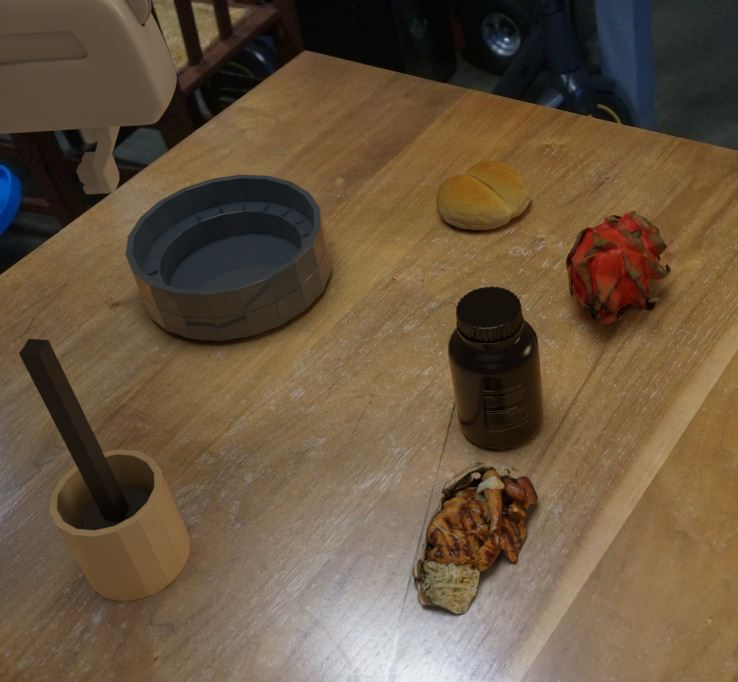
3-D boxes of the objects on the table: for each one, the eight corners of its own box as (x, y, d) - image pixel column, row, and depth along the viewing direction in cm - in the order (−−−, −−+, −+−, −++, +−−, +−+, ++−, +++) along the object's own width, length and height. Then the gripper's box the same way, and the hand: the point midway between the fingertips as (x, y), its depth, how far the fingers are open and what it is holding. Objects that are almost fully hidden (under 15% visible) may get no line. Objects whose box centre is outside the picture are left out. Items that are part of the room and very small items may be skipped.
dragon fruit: (647, 268, 102) (605, 366, 96) (573, 216, 101) (526, 312, 94) (701, 226, 95) (660, 329, 89) (623, 170, 94) (575, 270, 87)
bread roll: (422, 209, 109) (417, 175, 106) (494, 172, 112) (491, 139, 110) (473, 247, 104) (469, 213, 101) (545, 207, 108) (544, 173, 105)
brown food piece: (398, 602, 76) (391, 571, 73) (456, 471, 84) (451, 440, 81) (494, 625, 74) (490, 595, 71) (544, 489, 82) (542, 457, 80)
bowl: (116, 339, 97) (94, 288, 93) (185, 221, 110) (168, 171, 106) (302, 351, 95) (288, 298, 91) (352, 228, 107) (341, 177, 103)
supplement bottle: (555, 398, 89) (549, 286, 81) (527, 460, 84) (518, 347, 76) (476, 381, 91) (462, 269, 83) (445, 441, 86) (427, 329, 78)
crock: (71, 599, 78) (30, 530, 72) (113, 515, 83) (78, 445, 77) (169, 609, 76) (135, 540, 71) (206, 523, 82) (177, 453, 76)
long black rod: (93, 581, 78) (-24, 372, 64) (120, 527, 81) (15, 317, 67) (157, 587, 77) (53, 377, 63) (181, 532, 81) (88, 321, 66)
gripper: (146, -94, 53) (217, 149, 62) (-269, -66, 54) (-137, 171, 63) (113, -37, 48) (195, 216, 58) (-340, -6, 49) (-186, 239, 58)
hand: (19, 193), depth 60 cm, fingers open, 8 cm apart
